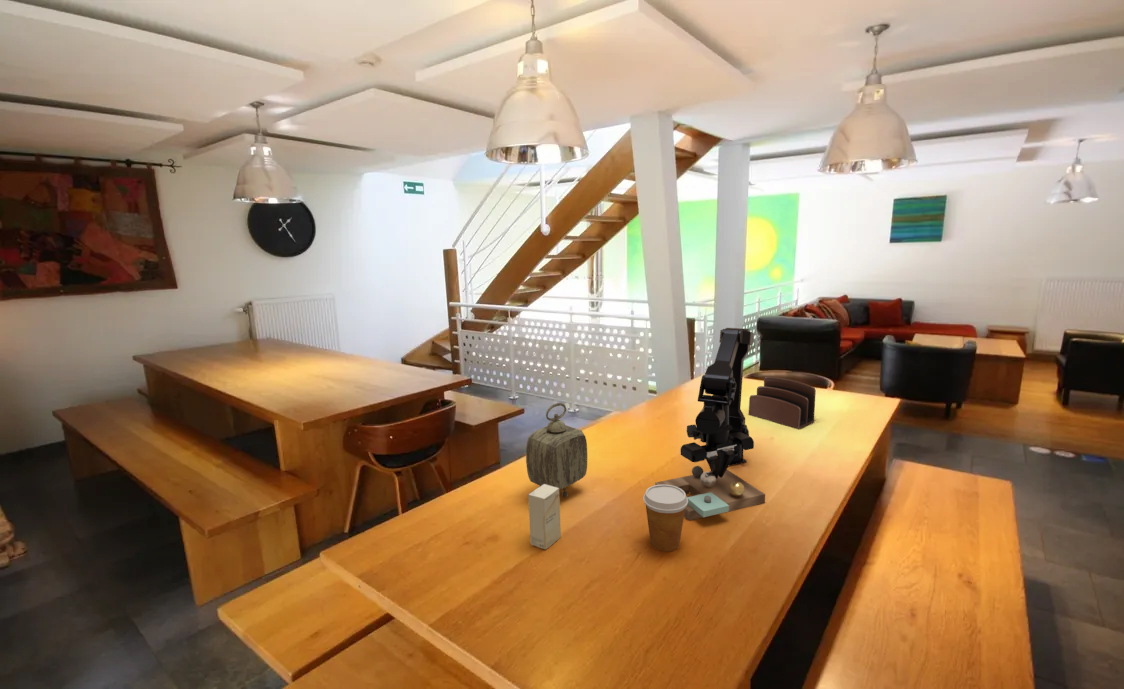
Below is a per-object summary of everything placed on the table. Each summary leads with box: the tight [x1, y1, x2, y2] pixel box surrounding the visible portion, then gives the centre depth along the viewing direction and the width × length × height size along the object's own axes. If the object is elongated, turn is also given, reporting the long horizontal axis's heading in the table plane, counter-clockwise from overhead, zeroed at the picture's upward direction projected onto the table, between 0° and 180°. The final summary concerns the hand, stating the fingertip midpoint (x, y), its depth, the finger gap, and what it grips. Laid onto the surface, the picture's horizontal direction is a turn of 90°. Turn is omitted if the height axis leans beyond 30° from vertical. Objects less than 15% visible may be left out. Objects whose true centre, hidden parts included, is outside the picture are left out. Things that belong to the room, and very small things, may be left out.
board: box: [654, 469, 766, 522], centre depth 136 cm, size 22×16×2 cm
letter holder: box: [748, 376, 817, 430], centre depth 188 cm, size 10×20×14 cm, turn 37°
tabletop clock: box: [525, 402, 588, 498], centre depth 137 cm, size 14×9×25 cm, turn 135°
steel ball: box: [700, 470, 716, 487], centre depth 136 cm, size 4×4×4 cm
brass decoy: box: [729, 482, 745, 497], centre depth 131 cm, size 4×4×4 cm
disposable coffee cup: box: [642, 484, 688, 553], centre depth 115 cm, size 10×10×12 cm
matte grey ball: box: [691, 465, 704, 477], centre depth 141 cm, size 3×3×3 cm
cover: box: [686, 492, 730, 518], centre depth 126 cm, size 7×7×2 cm
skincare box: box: [527, 484, 562, 550], centre depth 117 cm, size 6×4×12 cm
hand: (717, 477), depth 136 cm, fingers closed
